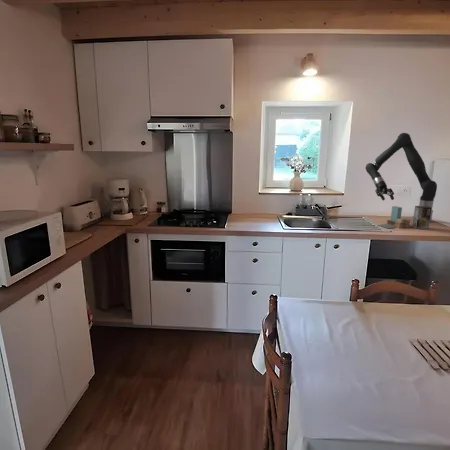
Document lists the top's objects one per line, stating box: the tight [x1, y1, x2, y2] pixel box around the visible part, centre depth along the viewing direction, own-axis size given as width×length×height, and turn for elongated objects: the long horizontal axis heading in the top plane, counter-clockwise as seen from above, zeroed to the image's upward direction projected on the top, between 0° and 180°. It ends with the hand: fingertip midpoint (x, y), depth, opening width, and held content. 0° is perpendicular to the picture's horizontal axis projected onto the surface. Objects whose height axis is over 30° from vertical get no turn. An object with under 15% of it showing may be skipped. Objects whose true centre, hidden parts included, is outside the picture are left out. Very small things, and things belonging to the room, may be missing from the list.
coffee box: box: [412, 205, 433, 230], centre depth 239 cm, size 9×6×16 cm
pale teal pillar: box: [389, 205, 403, 222], centre depth 248 cm, size 4×6×14 cm, turn 16°
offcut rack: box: [386, 217, 411, 229], centre depth 247 cm, size 10×14×6 cm
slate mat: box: [377, 223, 397, 230], centre depth 243 cm, size 8×10×1 cm
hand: (388, 199), depth 255 cm, fingers open, 8 cm apart
